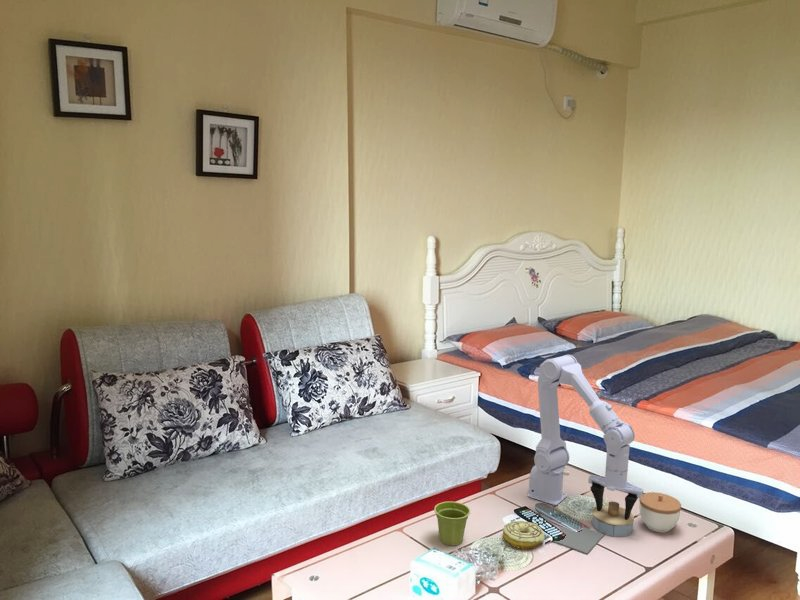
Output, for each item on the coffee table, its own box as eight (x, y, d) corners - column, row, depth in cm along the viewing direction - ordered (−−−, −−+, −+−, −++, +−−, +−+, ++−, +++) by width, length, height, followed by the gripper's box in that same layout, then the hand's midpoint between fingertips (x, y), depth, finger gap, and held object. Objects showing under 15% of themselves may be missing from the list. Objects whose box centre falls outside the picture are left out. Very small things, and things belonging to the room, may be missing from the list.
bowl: (587, 527, 180) (588, 517, 179) (601, 514, 188) (601, 503, 187) (623, 540, 174) (624, 529, 173) (636, 525, 182) (637, 514, 181)
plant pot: (443, 527, 179) (444, 498, 178) (474, 536, 174) (475, 506, 173) (427, 543, 171) (428, 512, 170) (460, 553, 166) (461, 522, 165)
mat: (543, 538, 174) (543, 537, 174) (562, 521, 183) (562, 519, 183) (587, 554, 167) (587, 553, 167) (604, 535, 176) (604, 534, 176)
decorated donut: (551, 546, 171) (552, 533, 170) (517, 555, 166) (518, 541, 166) (528, 527, 180) (529, 515, 179) (495, 535, 176) (496, 522, 175)
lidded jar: (671, 518, 186) (674, 487, 184) (684, 538, 175) (687, 506, 174) (633, 516, 187) (635, 485, 185) (643, 535, 176) (645, 503, 175)
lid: (586, 516, 179) (587, 504, 179) (600, 503, 188) (601, 491, 187) (626, 529, 173) (627, 517, 172) (639, 515, 181) (640, 503, 181)
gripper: (585, 465, 179) (582, 511, 181) (638, 480, 170) (634, 528, 173) (595, 457, 185) (591, 501, 187) (647, 471, 176) (643, 517, 178)
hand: (613, 513), depth 180 cm, fingers open, 7 cm apart
